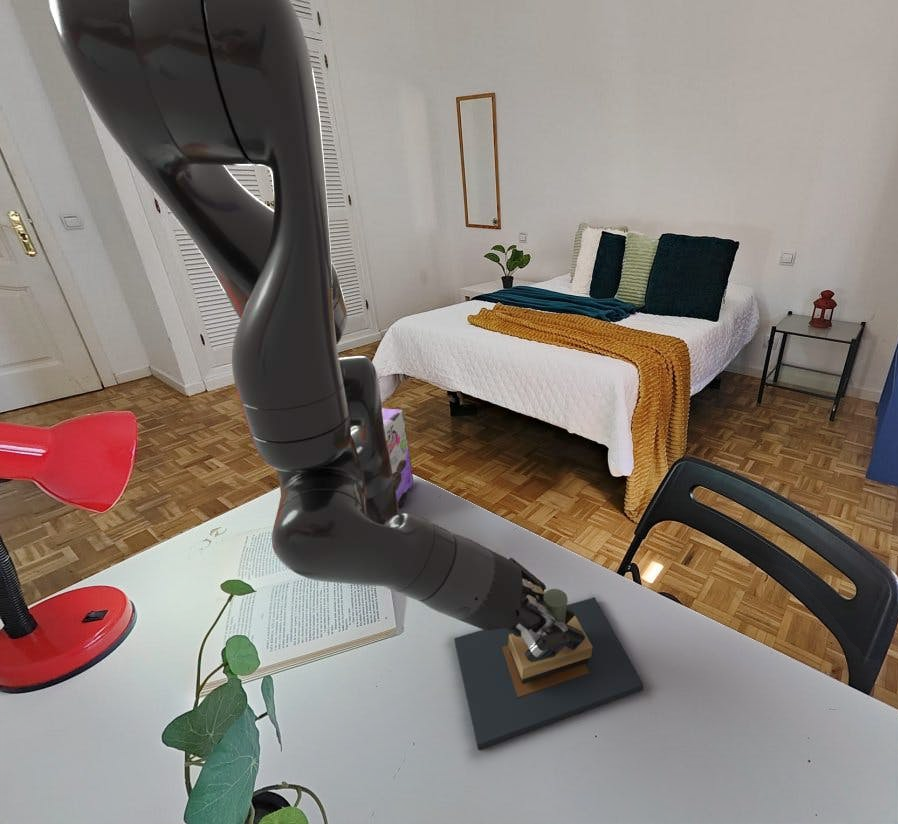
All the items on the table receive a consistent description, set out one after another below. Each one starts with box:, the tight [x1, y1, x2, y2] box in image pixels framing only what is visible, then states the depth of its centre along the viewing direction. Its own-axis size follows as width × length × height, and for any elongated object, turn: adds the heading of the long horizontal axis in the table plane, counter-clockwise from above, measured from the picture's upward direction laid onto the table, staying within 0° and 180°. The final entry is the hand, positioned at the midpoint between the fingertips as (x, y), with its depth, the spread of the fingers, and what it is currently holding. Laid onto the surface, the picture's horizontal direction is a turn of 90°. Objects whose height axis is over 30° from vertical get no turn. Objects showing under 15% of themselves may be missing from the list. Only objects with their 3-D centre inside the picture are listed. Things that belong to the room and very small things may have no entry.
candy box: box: [351, 407, 415, 502], centre depth 87 cm, size 14×6×16 cm, turn 168°
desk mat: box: [453, 596, 645, 750], centre depth 61 cm, size 14×20×1 cm
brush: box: [508, 588, 593, 684], centre depth 59 cm, size 5×9×10 cm, turn 113°
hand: (573, 629), depth 60 cm, fingers closed on brush, 3 cm apart
